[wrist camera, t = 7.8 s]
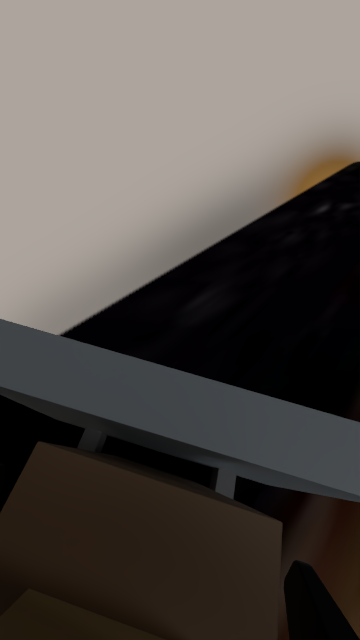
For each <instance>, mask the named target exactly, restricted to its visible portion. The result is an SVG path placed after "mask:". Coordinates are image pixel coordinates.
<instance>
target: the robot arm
mask: <svg viewBox="0 0 360 640" xmlns="http://www.w3.org/2000/svg"><path fill="white" fill-rule="evenodd" d="M4 473H5V467H4V465H2V464H0V492H1V490H2V488H3V484H4ZM284 594H285V603H286V612H287V621H288V630H289V639H290V640H360V639H359V638H358V636H357V635H356V633H355V632H354V630H353V629H352V627H351V626H350V624H349V623H348V621H347V619H346V618H345V616H344V615H343V613H342V612H341V610H340V609H339V607H338V606H337V604H336V603H335V601H334V600H333V598H332V597H331V595H330V594H329V592H328V591H327V589H326V588H325V586H324V585H323V583H322V581H321V580H320V578H319V577H318V575H317V574H316V572H315V571H314V569H313V568H312V567H311V566H310V565H309V564H307V563H304V562H301V561H298V560H295V561H294V562H293V563H292V565H291V567H290V569H289V571H288V573H287V575H286V577H285V580H284Z"/></svg>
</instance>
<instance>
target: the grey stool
mask: <svg viewBox="0 0 360 640" xmlns="http://www.w3.org/2000/svg"><path fill="white" fill-rule="evenodd" d="M0 395H3V396H5V397H7V398H9V399H12V400H14V401H16V402H18V403H21V404H23V405H25V406H27V407H29V408H32V409H34V410H36V411H38V412H41V413H43V414H45V415H47V416H50V417H52V418H54V419H56V420H59V421H63V422H66V423H69V424H72V425H76V426H79V427H82V428H85V431H84V433H83V436H82V438H81V440H80V443H79V445H78V447H77V449H82V450H87V451H93V452H98V453H101V451H102V448H103V445H104V443H105V440H106V438H107V435H108V436H111V437H115V438H118V439H121V440H124V441H127V442H131V443H134V444H137V445H140V446H144V447H147V448H150V449H153V450H157V451H160V452H163V453H166V454H170V455H173V456H176V457H179V458H182V459H186V460H189V461H192V462H195V463H199V464H202V465H205V466H208V467H212V474H211V480H210V486H209V489H211V490H214V491H216V492H218V493H220V494H222V495H224V496H226V497H229V498H231V499H233V496H234V487H235V479H236V475H238V476H241V477H244V478H247V479H250V480H254V481H257V482H260V483H263V484H267V485H272V486H277V487H282V488H287V489H293V490H298V491H303V492H309V493H314V494H319V495H324V496H330V497H335V498H340V499H345V500H351V501H356V502H360V422H356V421H353V420H349V419H346V418H342V417H339V416H336V415H332V414H329V413H325V412H322V411H318V410H315V409H311V408H308V407H304V406H301V405H297V404H294V403H290V402H287V401H283V400H280V399H276V398H273V397H270V396H266V395H263V394H259V393H256V392H252V391H249V390H245V389H242V388H238V387H235V386H231V385H228V384H224V383H221V382H217V381H214V380H211V379H207V378H204V377H200V376H197V375H193V374H190V373H186V372H183V371H179V370H176V369H172V368H169V367H165V366H162V365H158V364H155V363H152V362H148V361H145V360H141V359H138V358H134V357H131V356H127V355H124V354H120V353H117V352H113V351H110V350H106V349H103V348H99V347H96V346H93V345H89V344H86V343H82V342H79V341H75V340H72V339H68V338H65V337H61V336H58V335H54V334H51V333H47V332H43V331H40V330H37V329H34V328H30V327H27V326H23V325H19V324H16V323H13V322H9V321H5V320H2V319H0Z"/></svg>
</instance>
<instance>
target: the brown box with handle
mask: <svg viewBox="0 0 360 640" xmlns="http://www.w3.org/2000/svg"><path fill="white" fill-rule="evenodd" d="M281 542H282V522H280V521H278V520H276V519H274V518H272V517H270V516H267V515H265V514H263V513H261V512H259V511H257V510H254V509H252V508H250V507H248V506H246V505H244V504H242V503H239V502H237V501H235V500H233V499H231V498H229V497H226V496H224V495H222V494H220V493H218V492H216V491H214V490H211V489H209V488H207V487H205V486H203V485H201V484H198V483H196V482H194V481H191V480H188V479H185V478H182V477H179V476H176V475H173V474H170V473H167V472H164V471H161V470H158V469H155V468H152V467H149V466H146V465H143V464H140V463H137V462H134V461H130V460H127V459H124V458H121V457H118V456H114V455H109V454H103V453H98V452H93V451H87V450H82V449H77V448H71V447H66V446H61V445H55V444H50V443H45V442H39V441H38V443H37V444H36V446H35V448H34V450H33V452H32V454H31V456H30V458H29V460H28V462H27V463H26V465H25V467H24V469H23V471H22V473H21V475H20V477H19V479H18V480H17V482H16V484H15V486H14V488H13V490H12V492H11V494H10V496H9V498H8V499H7V501H6V503H5V505H4V507H3V509H2V511H1V513H0V640H277V634H278V611H279V588H280V565H281Z"/></svg>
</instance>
